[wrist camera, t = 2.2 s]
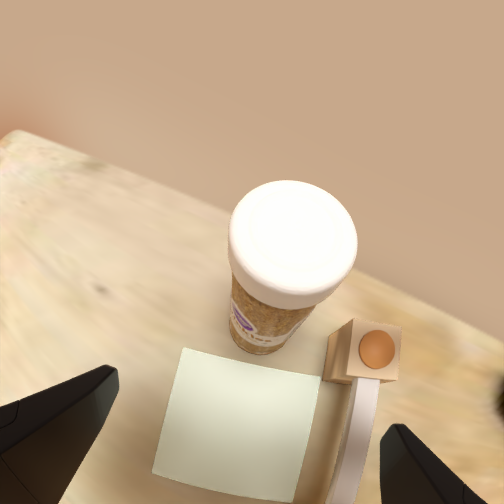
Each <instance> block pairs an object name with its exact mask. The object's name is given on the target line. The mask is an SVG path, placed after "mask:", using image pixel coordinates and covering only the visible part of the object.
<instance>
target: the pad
mask: <svg viewBox="0 0 504 504" xmlns="http://www.w3.org/2000/svg"><path fill="white" fill-rule="evenodd" d="M320 379H321V377H320V376H313V375H307V374H301V373H295V372H290V371H284V370H279V369H274V368H269V367H264V366H259V365H254V364H250V363H245V362H241V361H236V360H232V359H228V358H224V357H220V356H216V355H212V354H208V353H204V352H200V351H196V350H193V349H189V348H186V347H183V351H182V354H181V358H180V361H179V365H178V369H177V372H176V376H175V380H174V383H173V387H172V391H171V395H170V399H169V402H168V406H167V410H166V414H165V418H164V422H163V426H162V430H161V434H160V438H159V442H158V446H157V450H156V455H155V459H154V463H153V468H152V472H151V473H153V474H156V475H159V476H162V477H165V478H168V479H171V480H174V481H178V482H181V483H185V484H188V485H192V486H196V487H200V488H204V489H208V490H212V491H217V492H221V493H226V494H231V495H237V496H242V497H248V498H255V499H262V500H270V501H279V502H289V503H292V501H293V497H294V494H295V490H296V487H297V483H298V479H299V475H300V472H301V468H302V464H303V460H304V456H305V452H306V447H307V443H308V439H309V434H310V430H311V425H312V420H313V416H314V411H315V406H316V401H317V395H318V390H319V385H320Z"/></svg>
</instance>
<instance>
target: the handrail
mask: <svg viewBox="0 0 504 504" xmlns="http://www.w3.org/2000/svg"><path fill="white" fill-rule="evenodd" d="M401 330H402V327H400V326H394V325H388V324H383V323H377V322H371V321H366V320H360V319H355V318H353V319H352V320H351V321H349V322H348V323H346V324H345V325H344V326H342V327H341V328H340V329H338V330H337V331H336V332H334V333H333V334H331V335H330V336H329V341H328V348H327V354H326V360H325V367H324V373H323V378H322V381H326V382H333V383H341V384H349V385H351V391H350V397H349V403H348V408H347V414H346V419H345V424H344V429H343V434H342V439H341V443H340V448H339V452H338V457H337V461H336V465H335V469H334V473H333V477H332V480H331V484H330V488H329V491H328V495H327V498H326V502H325V504H354V502H355V498H356V495H357V491H358V488H359V484H360V480H361V477H362V473H363V469H364V465H365V460H366V456H367V452H368V447H369V442H370V438H371V433H372V427H373V422H374V416H375V411H376V404H377V398H378V391H379V384H381V383H386V382H391V381H396V380H397V379H398V370H399V359H400V347H401Z"/></svg>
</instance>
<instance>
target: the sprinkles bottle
mask: <svg viewBox="0 0 504 504" xmlns="http://www.w3.org/2000/svg"><path fill="white" fill-rule="evenodd" d="M356 253H357V234H356V230H355V226H354V224H353V222H352V219H351V217H350V215H349V214H348V212H347V211H346V209H345V208H344V207H343V206H342V205H341V204H340V202H339V201H338V200H336V199H335V198H334V197H333V196H331V195H330V194H329V193H327V192H326V191H324V190H322V189H320V188H318V187H316V186H314V185H311V184H307V183H304V182H299V181H290V180H283V181H275V182H270V183H267V184H264V185H261V186H259V187H257V188H255V189H253V190H252V191H250V192H249V193H248V194H247V195H245V196H244V197H243V198H242V199H241V201H240V202H239V203H238V204H237V206H236V207H235V209H234V211H233V213H232V216H231V219H230V223H229V231H228V259H229V263H230V267H231V270H232V291H231V309H230V313H231V317H230V323H229V324H230V331H231V334H232V337H233V339H234V341H235V342H236V343H237V344H238V346H239V347H241V348H242V349H244V350H245V351H247V352H250V353H253V354H258V355H263V354H269V353H272V352H274V351H276V350H278V349H279V348H281V347H282V346H283V345H284V344H285V342H286V341H287V339H288V338H289V337H290V336H291V335H292V334H293V333H294V332H295V331H296V329H297V328H298V327H299V326H300V325H301V324H302V323H303V322H304V320H305V319H306V318H307V317H308V316H309V315H310V313H311V312H312V311H313V309H314V308H315V306H316V305H317V304H318V303H320V302H322V301H323V300H325V299H326V298H327V297H328V296H330V295H331V294H332V293H333V292H334V291H335V290H336V288H337V287H338V286H339V285H340V283H341V282H342V281H343V280H344V278H345V277H346V276H347V274H348V273H349V272H350V270H351V268H352V266H353V264H354V261H355V258H356Z"/></svg>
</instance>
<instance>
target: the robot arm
mask: <svg viewBox="0 0 504 504" xmlns="http://www.w3.org/2000/svg"><path fill="white" fill-rule="evenodd" d="M118 391H119V378H118V370H117V369H116V368H114V367H112V366H109V365H102V366H100V367H98V368H95V369H93V370H91V371H88V372H86V373H84V374H81V375H79V376H77V377H74V378H72V379H70V380H67V381H65V382H62V383H60V384H58V385H55V386H53V387H50V388H48V389H45V390H43V391H40V392H38V393H35V394H33V395H30V396H28V397H25V398H23V399H20V401H19V400H17V401H15V402H12V403H9V404H6V405H4V406H1V407H0V504H58V503H59V501H60V499H61V498H62V496H63V494H64V492H65V490H66V489H67V487H68V485H69V483H70V482H71V480H72V478H73V476H74V475H75V473H76V471H77V470H78V468H79V466H80V464H81V463H82V461H83V459H84V458H85V456H86V454H87V452H88V451H89V449H90V447H91V446H92V444H93V442H94V441H95V439H96V437H97V436H98V434H99V432H100V431H101V429H102V427H103V425H104V423H105V420H106V418H107V416H108V414H109V411H110V409H111V407H112V405H113V402H114V400H115V398H116V396H117V394H118ZM380 489H381V501H382V504H488V503H486V502H485V501H484V500H483V499H481V498H480V497H479V496H478V495H477V494H476V493H474V492H473V491H472V490H471V489H470V488H469V487H468V486H467V485H466V484H464V482H463V481H462V480H461V479H460V478H459V477H458V476H457V475H455V474H454V473H453V472H452V471H451V470H450V469H449V468H448V467H447V466H446V465H445V464H444V463H443V462H442V461H441V460H440V459H439V458H438V457H437V456H436V455H435V454H434V453H433V452H432V451H431V450H430V449H429V448H428V447H427V446H426V445H425V444H424V443H423V442H422V441H421V440H420V439H419V438H418V437H417V436H416V435H415V434H414V433H413V432H412V431H411V430H410V429H409V428H408V427H407V426H406V425H404V424H392V425H391V426H390V427H389V429H388V430H387V432H386V433H385V434H384V436H383V437H382V439H381V441H380Z"/></svg>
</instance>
